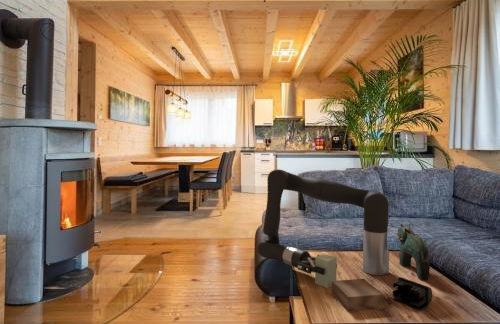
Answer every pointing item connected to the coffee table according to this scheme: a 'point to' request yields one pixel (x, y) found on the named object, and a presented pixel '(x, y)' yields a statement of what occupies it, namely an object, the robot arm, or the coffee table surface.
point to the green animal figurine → (413, 251)
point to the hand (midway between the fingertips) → (330, 269)
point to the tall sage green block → (326, 270)
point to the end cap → (412, 294)
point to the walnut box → (357, 295)
